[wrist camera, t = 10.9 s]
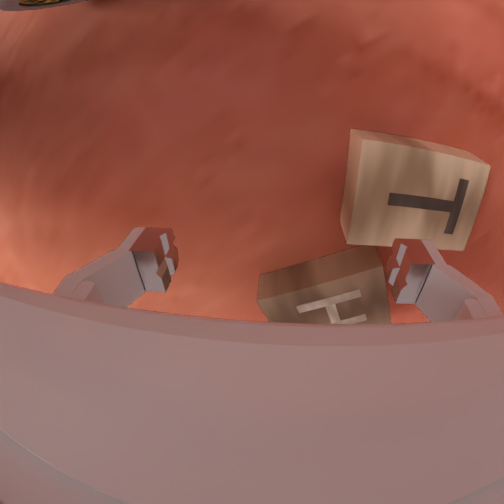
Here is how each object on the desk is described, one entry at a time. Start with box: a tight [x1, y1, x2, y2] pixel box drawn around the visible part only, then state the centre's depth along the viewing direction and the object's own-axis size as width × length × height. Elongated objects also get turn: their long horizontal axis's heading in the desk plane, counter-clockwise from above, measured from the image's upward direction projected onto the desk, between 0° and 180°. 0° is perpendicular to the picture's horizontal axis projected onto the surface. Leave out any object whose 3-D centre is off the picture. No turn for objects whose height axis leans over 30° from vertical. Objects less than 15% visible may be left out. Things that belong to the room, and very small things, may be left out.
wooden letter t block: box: [340, 129, 491, 251], centre depth 14 cm, size 6×3×8 cm
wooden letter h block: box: [256, 245, 391, 324], centre depth 20 cm, size 6×3×8 cm
